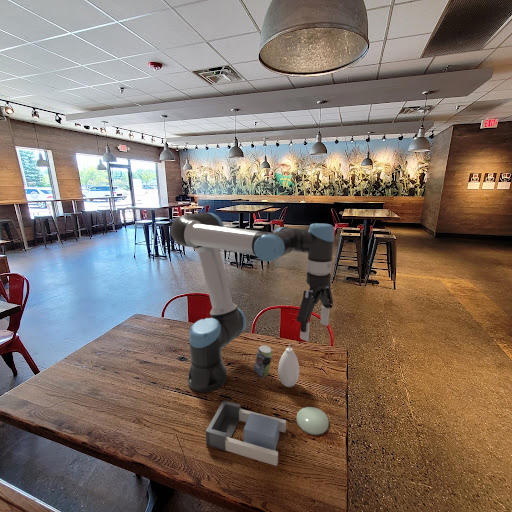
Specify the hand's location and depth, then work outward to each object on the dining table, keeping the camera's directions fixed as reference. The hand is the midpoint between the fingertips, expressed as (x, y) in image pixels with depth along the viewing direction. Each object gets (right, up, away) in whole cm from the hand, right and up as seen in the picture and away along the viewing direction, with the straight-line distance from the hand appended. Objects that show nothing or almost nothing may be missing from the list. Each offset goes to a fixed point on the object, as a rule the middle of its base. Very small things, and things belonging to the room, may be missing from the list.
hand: (314, 331), depth 91 cm
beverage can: (-17, -22, +16) cm, 33 cm away
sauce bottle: (-8, -24, +10) cm, 27 cm away
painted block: (-18, -29, -12) cm, 36 cm away
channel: (-20, -29, -12) cm, 37 cm away
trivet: (-2, -27, -6) cm, 28 cm away
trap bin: (-30, -28, -9) cm, 42 cm away
